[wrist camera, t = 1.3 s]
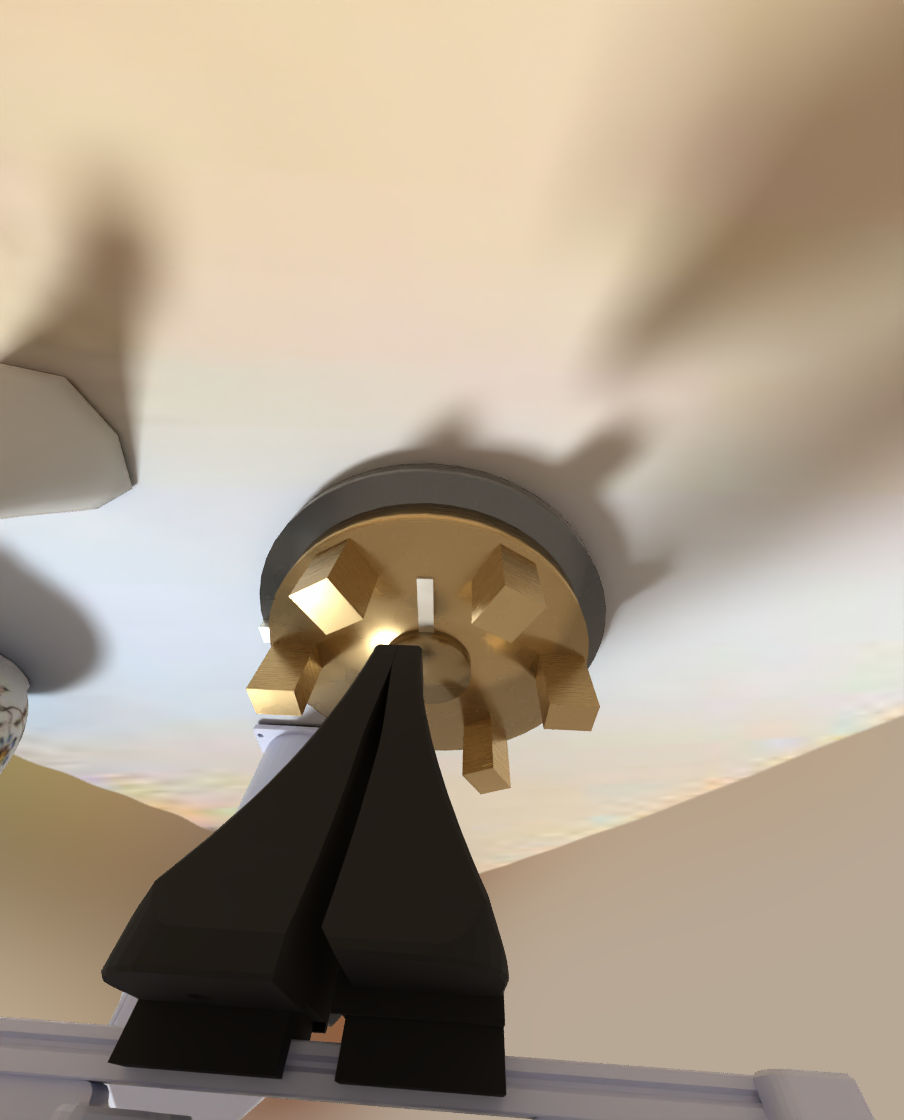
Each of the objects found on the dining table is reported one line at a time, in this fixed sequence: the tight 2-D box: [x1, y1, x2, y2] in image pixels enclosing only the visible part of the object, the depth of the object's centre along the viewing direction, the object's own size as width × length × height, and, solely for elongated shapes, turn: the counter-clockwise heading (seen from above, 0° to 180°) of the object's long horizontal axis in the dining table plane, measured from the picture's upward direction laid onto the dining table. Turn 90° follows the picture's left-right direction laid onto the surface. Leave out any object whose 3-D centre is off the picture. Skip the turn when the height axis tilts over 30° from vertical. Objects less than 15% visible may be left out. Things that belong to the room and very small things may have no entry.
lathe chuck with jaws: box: [246, 503, 600, 794], centre depth 21 cm, size 18×18×5 cm
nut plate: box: [259, 464, 606, 668], centre depth 24 cm, size 21×21×2 cm
